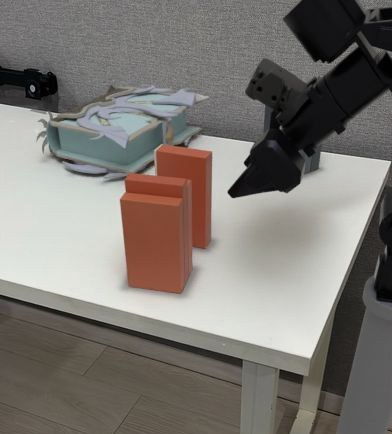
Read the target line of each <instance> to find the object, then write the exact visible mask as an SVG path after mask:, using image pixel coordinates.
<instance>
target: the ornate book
mask: <svg viewBox="0 0 392 434" xmlns="http://www.w3.org/2000/svg"><path fill="white" fill-rule="evenodd" d="M142 86H143V87H145V86H148V87H146V88H140V87H142ZM140 87H135V86H118V87H117V88H115V87H114V85H113V84H110V85H109V86H108V88H107V89H106V92H105V94H102V95H98V96H96V97H94V98H92V100H91V101H85V102H83V103H80V104H79V105H78V106H76V107H75V108H73V109H71V110H69V111H66V112H62V113H59V112H58V114H56V116H55V117H54V116H53V113H52V112H51V111H50V110H47V114H48V116H49V120H48V121H47V120H46V119H44V118H41V119H39V120H37V123H42V125H43V128H44V129H45V130H42V131H40V132H39V133H38V135H37V136H36V141H35V143H37V142H38V140H39V139H40V138H43V139H44V140H43V141H42V144H41V151H42V153H43V155H45V147H46V145H48V149H49V153H50V154H51V155H53V156H56V158H57V157H58V158H61V159H65V160H70V161H72V162H73V163H69V162H67V161H64V160H62V161H61V162H62V164H63V166H65V167H66V168H68V169H69V170H72V171H76V172H80V173H86V174H104V175H103V176H102V177H103V179H113V178H122V177H127V176H128V175H129V173H135V174H137V173H138V172H141V171H143V170H145V169H146V168H147V165H148V164H150V163H152V162H153V161H154V150H155V149H157V148H158V147H159V146H160V145H161V144H164V145H170V146H177V145H180V144H183V145H184V147H185V146H186V147H187V146H188V145H189V142H190V140H191V138H192V137H193V136H194V135H195V134H197V133H199V132H200V131H202V130H203V127H200V126H194V125H189V124H187V113H186V112H187V110H188V109H190V108H191V109H192V108H193V107H194V106H195V105H197V104H199V103H201V102H203V100H205V99H206V100H207V99H208V98H209V96H207V95H202V94H199V93H196V92H192V88H191V86H190V87H186V88H181V89H179V90H177V92H174V93H171V92H173V89H172V88H164V87H163V88H161V87H160V88H158V87H156V85H155V84H140Z"/></svg>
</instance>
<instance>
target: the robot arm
mask: <svg viewBox="0 0 392 434" xmlns="http://www.w3.org/2000/svg"><path fill="white" fill-rule="evenodd" d="M281 20H282V21H283V23H284V24H285V25H286V27H287V28H288V29H289V31H290V32H291V33H292V35H293V36H294V38H295V39H296V40H297V41H298V43H299V44H300V45H301V47H302V48H303V49H304V51H305V52H306V53H307V54H308V56H309V58H310V59H311V60H312V61H313V63H317V62H319V61H320V62H321V63H322V64H325V63H327V64H328V65H331V64H332V63H333V62H334V61H336V60H337V59H338V58H339V57H340V56H342V55H343V54H344V53H345V52H346V51H347V50H348V49H349V48H350V47H351V46H353V45H354V44H355V43H356V45H357V46H356V47H354V49H353V50H351V51H350V52H349V53H348V54H347V55H346V56H345V57H343V58H342V59H341V60H340V61H338V62H337V64H335V65H334V66H332V68H331V69H329V70H328V71H327V72H326V73H325V74H324V75H322V76H321V75H318V76H313V77H312V78H310V80H309V81H308V82H305V81H304V80H302V79H301V78H299V77H298V76H297V75H295V74H294V73H292V72H291V71H289V70H288V69H286V68H285V67H282V66H281V65H280V64H278V63H276V62H275V61H273V60H271V59H269V58H266V57H264V58H262V59H261V61H259V63H258V64H257V66H256V68H255V70H254V72H253V74H252V75H251V79H250V80H249V82H248V84H247V86H246V88H245V90H244V93H245V95H246V96H247V97H248V98H250V99H251V100H253V101H255V100H256V101H258V102H260V103H262V104H263V105H264V106H265V105H266V106H268V107H270V108H271V109H273V110H272V112H271V117H270V127H269V129H268V130H267V131H266V132H265V133H264V134H263V133H262V134H261V136H260V137H258V139H256V141H254V143H253V145H252V146H251V148H250V150H249V154H248V156H247V157H246V158H245V159H244V161H243V165H244V166H245V167H246V168H245V169H244V170H243V171H242V173H241V174H240V175H239V176H238V177H237V179H236V180H235V181H234V182H233V184H232V185H231V186H230V187H229V188H228V190H227V194H228V196H229V197H230V198H231V199H237V198H238V199H239V198H243V197H249V196H253V195H258V194H259V195H260V194H265V193H271V192H279V193H284V194H289V193H291V191H293V190H295V188H297V187H298V186H299V185H300V184H301V183H302V180H303V177H304V175H305V174H304V171H305V163H306V160H305V159H304V158H303V156H302V155H301V154H300V153H299V151H301V150H303V151H304V152H305V154H306V155H307V156H308V157H309V158H310V157H311V156H312V155H314V154H315V153H316V151H317V148H318V146H319V145H320V144H321V143H322V144H323V143H324V142H325V141H327V140H328V139H329V138H330V137H332V136H333V135H334V134H337V136H339V135H341V134H342V133H343V132H346V130H347V127H348V124H349V123H350V122H351V121H353V119H355V118H356V117H357V116H359V115H360V114H362V113H363V112H364V111H366V110H367V109H368V108H369V107H370V106H372V105H373V104H374V103H376V102H377V101H378V100H380V99H381V98H382V97H383V96H384V95H386V94H387V93H389V92H390V93H391V94H392V56H391V55H390V53H392V6H385V7H376V8H375V7H373V8H367V9H365V8H364V6H363V5H362V4H361V2H360V0H298V1H297V2H296V3H295V4H294V5H293V6H292V7H291V9H289V10H288V12H287V13H286V14H285V15H284V16H283V17H282V18H281ZM375 48H376V49H380V50H381V51H380V52H377V50H376V49H375ZM389 52H390V53H389ZM303 174H304V175H303ZM378 224H379V226H378V235H379V238H380V240H381V242H382V243H383V245H385V248H384V252H380V253H379V254H378V259H377V262H376V266H375V270H374V274H373V275H374V279H373V288H374V289H376V300H377V301H381V302H389V303H392V189H391V190H389V191H388V192H387V193H385V195H384V197H383V199H382V201H381V204H380V210H379V223H378Z"/></svg>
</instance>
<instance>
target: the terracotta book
mask: <svg viewBox="0 0 392 434" xmlns="http://www.w3.org/2000/svg"><path fill="white" fill-rule="evenodd" d="M153 161H154V176H164V177H174V178H184V179H188V180H191V181H192V248H193V247H195V248H199V249H203V250H206V249H207V248H208V246H209V244H210V243H211V242H212V207H213V206H212V204H213V203H212V201H213V200H212V199H213V196H212V195H213V192H212V191H213V151H212V150H206V149H197V148H190V147H185V146H177V145H173V146H170V145H164V144H161V145H160V146H159V147H158V148H157V149H155V150H154V160H153Z"/></svg>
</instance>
